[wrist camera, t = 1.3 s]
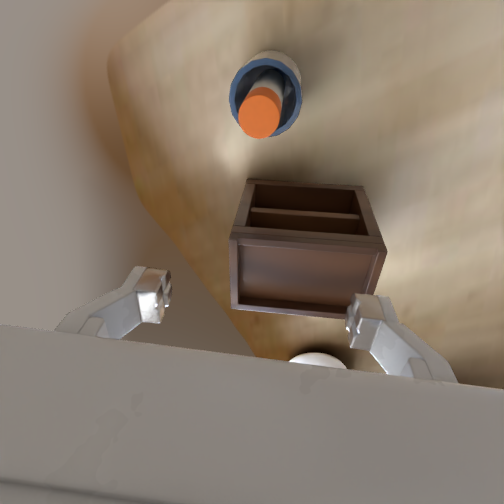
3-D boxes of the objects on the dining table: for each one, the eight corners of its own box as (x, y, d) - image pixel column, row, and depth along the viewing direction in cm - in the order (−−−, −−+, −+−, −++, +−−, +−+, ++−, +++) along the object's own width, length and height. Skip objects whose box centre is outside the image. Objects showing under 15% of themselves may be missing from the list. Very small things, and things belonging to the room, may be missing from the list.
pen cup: (263, 35, 31) (255, 40, 25) (313, 77, 32) (317, 90, 27) (229, 93, 34) (216, 109, 29) (276, 128, 36) (273, 150, 30)
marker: (266, 62, 32) (253, 85, 22) (291, 82, 32) (288, 112, 23) (249, 90, 33) (230, 122, 24) (273, 108, 34) (263, 146, 24)
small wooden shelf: (247, 178, 40) (228, 239, 29) (363, 186, 39) (387, 252, 28) (246, 239, 45) (230, 308, 35) (348, 247, 44) (364, 321, 33)
